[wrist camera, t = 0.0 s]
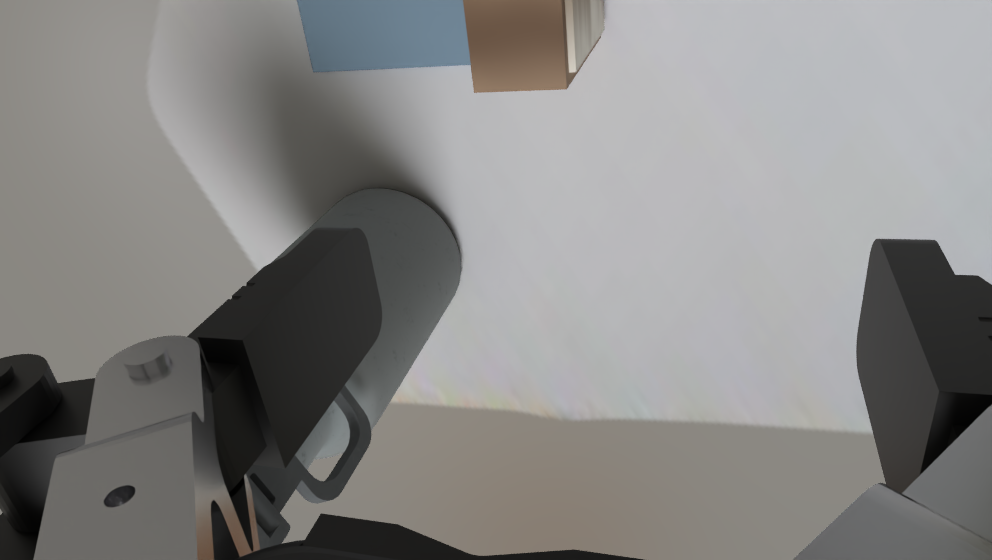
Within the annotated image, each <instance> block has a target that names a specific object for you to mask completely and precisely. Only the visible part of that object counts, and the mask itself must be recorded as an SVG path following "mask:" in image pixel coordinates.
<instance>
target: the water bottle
mask: <svg viewBox="0 0 992 560" xmlns="http://www.w3.org/2000/svg"><path fill="white" fill-rule="evenodd" d="M318 227H339V228H359V229H361V230H362V231H363V232H364V234H365V236H366V238H367V241H368V245H369V249H370V254H371V259H372V263H373V268H374V273H375V277H376V282H377V287H378V291H379V296H380V301H381V306H382V324H381V329H380V333H379V336H378V338H377V340H376V342H375V343H374V344H373V346H372V347H371V349H370V350H369V351H368V353H367V354H366V356H365V357H364V359H363V360H362V361H361V363H360V364H359V366H358V367H357V368H356V370H355V371H354V373H353V374H352V375H351V377H350V378H349V380H348V381H347V382H346V384H345V385H344V387H343V388H342V389H341V391H340V392H339V394H338V395H337V397H336V398H335V399H334V401H333V402H332V404H331V405H330V406H329V408H328V409H327V411H326V412H325V413H324V415H323V416H322V418H321V419H320V420H319V422H318V423H317V425H316V426H315V427H314V429H313V430H312V432H311V433H310V435H309V436H308V437H307V439H306V440H305V442H304V443H303V444H302V446H301V447H300V449H299V450H298V451H297V453H296V454H295V456H294V457H293V458H292V460H291V461H290V463H289V464H288V466H287V467H286V468H285V469H283V468H275V467H267V466H259V465H252V466H251V467H250V469H249V470H248V471H247V473H246V476H247V478H248V481H249V484H250V487H251V490H252V497H253V504H254V511H255V518H256V525H257V532H258V539H259V546H260V549H264V548H267V547H271V546H274V545H278V544H281V543H282V542H283V540H284V538H286V536H287V534H288V532H289V530H290V525H289V524H288V523H287V521H286V520H285V519H284V518H283V517H282V516H281V514H280V512H281V510H282V509H283V507H284V506H285V504H286V503H287V501H288V500H289V498H290V497H291V495H292V494H293V492H294V491H295V489H297V491H298V492H299V493H300V494H301V495H302V496H303V497H304V498H305V499H306V500H307V501H309V502H311V503H322V502H326V501H329V500H333V499H334V498H336V497H338V496H339V494H340V493H341V492H342V490H343V489H344V487H345V485H346V483H347V482H348V480H349V478H350V477H351V475H352V473H353V472H354V470H355V468H356V467H357V465H358V463H359V462H360V460H361V458H362V457H363V455H364V453H365V452H366V450H367V448H368V446H369V444H370V440H371V430H372V429H373V427H374V426H375V425H376V423H377V422H378V420H379V419H380V417H381V415H382V414H383V412H384V411H385V409H386V407H387V406H388V404H389V402H390V401H391V399H392V397H393V396H394V394H395V392H396V391H397V389H398V388H399V386H400V384H401V383H402V381H403V379H404V378H405V376H406V374H407V373H408V371H409V369H410V368H411V366H412V364H413V363H414V361H415V360H416V358H417V356H418V355H419V353H420V351H421V350H422V348H423V346H424V345H425V343H426V341H427V340H428V338H429V336H430V335H431V333H432V332H433V330H434V328H435V327H436V325H437V323H438V322H439V320H440V318H441V317H442V315H443V313H444V312H445V310H446V308H447V307H448V305H449V304H450V302H451V300H452V299H453V297H454V295H455V293H456V291H457V288H458V285H459V282H460V275H461V258H460V253H459V249H458V246H457V243H456V241H455V239H454V237H453V235H452V233H451V231H450V229H449V228H448V226H447V225H446V224H445V222H444V221H443V220H442V218H441V217H440V216H439V215H438V214H437V213H436V212H435V211H434V210H433V209H431V208H430V207H429V206H428V205H426V204H425V203H423V202H422V201H420V200H419V199H417V198H415V197H412V196H410V195H408V194H406V193H403V192H399V191H395V190H391V189H382V188H373V189H365V190H361V191H358V192H355V193H353V194H350V195H348V196H346V197H345V198H343V199H342V200H340V201H339V202H338V203H336V204H335V205H334V206H333V207H332V208H331V209H330V210H329V211H328V212H327V213H326V214H324V215H323V216H322V217H321V218H320V219H319V220H318V221H317V222H316V223H315V224H313V225H312V226H311V227H310V228H309V229H308V230H307V231H306V232H305V233H304V234H302V235H301V236H300V237H299V238H298V239H297V240H296V241H295V242H294V243H293V244H292V245H290V246H289V247H288V248H287V249H286V250H285V251H284V252H283V253H282V254H281V255H279V256H278V257H277V258H276V259H275V260H274V261H276V260H278V259H280V258H282V257H284V256H286V255H287V254H288V253H289V252H290V251H291V250H292V249H293V248H294V247H295V246H297V245H298V244H299V243H300V242H301V241H302V240H303V239H304V238H305V237H306V236H307V235H308V234H310V233H311V232H312V231H313V230H314V229H315V228H318ZM274 261H273V262H274ZM341 453H343V455H342V457H341V458H340V460H339V461H338V463H337V464H336V466H335V467H334V469H333V471H332V472H331V474H330V475H329V477H328V478H327V479H326V480H325V481H324V482H323V481H319V480H317V479H315V478H314V477H313V476H312V475H311V474H310V473H309V472H308V471H307V469H308V468H309V466H310V465H311V463H312V462H313V460H314V459H322V458H327V457H333V456H336V455H339V454H341Z"/></svg>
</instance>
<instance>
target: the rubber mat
mask: <svg viewBox="0 0 992 560" xmlns="http://www.w3.org/2000/svg"><path fill="white" fill-rule="evenodd" d="M297 2H298V6H299V11H300V15H301V20H302V24H303V29H304V33H305V37H306V42H307V46H308V51H309V55H310V60H311V64H312V68H313V72H329V71H350V70H371V69H392V68H413V67H433V66H454V65H471V63H470V54H469V46H468V38H467V30H466V22H465V13H464V5H463V0H297Z"/></svg>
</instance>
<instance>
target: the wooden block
mask: <svg viewBox="0 0 992 560" xmlns="http://www.w3.org/2000/svg"><path fill="white" fill-rule="evenodd" d="M463 5H464V13H465V22H466V30H467V38H468V46H469V54H470V63H471V71H472V79H473V87H474V93H477V92H504V91H531V90H558V89H567V88H568V86H569V85H570V83H571V82H572V80H573V79H574V77H575V76H576V74H577V73H578V71H579V70H580V68H581V67H582V65H583V64H584V62H585V61H586V59H587V57H588V56H589V54H590V53H591V51H592V50H593V48H594V47H595V45H596V44H597V42H598V41H599V39H600V38H601V34H602V33H603V31H604V1H603V0H463Z"/></svg>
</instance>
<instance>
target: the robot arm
mask: <svg viewBox="0 0 992 560" xmlns="http://www.w3.org/2000/svg"><path fill="white" fill-rule="evenodd" d="M381 324H382V306H381V301H380V296H379V291H378V287H377V282H376V277H375V273H374V268H373V263H372V259H371V254H370V249H369V245H368V241H367V238H366V236H365V234H364V232H363V231H362V230H361V229H359V228H339V227H318V228H315V229H314V230H313V231H312V232H311V233H310V234H308V235H307V236H306V237H305V238H304V239H303V240H302V241H301V242H300V243H299V244H298V245H297V246H295V247H294V248H293V249H292V250H291V251H290V252H289V253H288V254H287V255H286V256H284V257H282V258H280V259H278V260H276V261H274V262H272V263H270V264H269V265H267V266H265V267H263V268H262V269H261V270H260V271H259V272H258V273H257V274H256V275H255V276H253V277H252V278H251V279H250V280H249V281H248V282H247V285H246V286H242V287H241V289H239V290H238V291H237V292H236V293H235V294H234V295H233V296H232V299H231V300H230V299H228V300H227V301H226V302H225V303H224V304H223V305H221V306H220V307H219V308H218V309H217V310H216V311H215V312H214V313H213V314H212V315H210V316H209V317H208V318H207V319H206V320H205V321H204V322H203V323H202V324H200V325H199V326H198V327H197V328H196V329H195V330H194V331H193V332H192V333H191V334H189V336H187V337H185V336H163V337H157V338H153V339H149V340H146V341H143V342H140V343H137V344H135V345H132V346H130V347H128V348H126V349H124V350H122V351H121V352H119V353H117V354H116V355H114V356H113V357H111V358H110V359H109V360H108V361H107V362H105V363H104V364H103V366H102V367H101V368H100V369H99V371H98V373H97V375H96V378H93V379H85V380H78V381H71V382H63V383H57V381H56V379H55V377H54V375H53V373H52V371H51V369H50V367H49V365H48V363H47V361H46V360H45V359H44V358H43V357H41V356H38V355H33V354H21V355H13V356H9V357H4V358H1V359H0V509H1V510H2V512H3V513H2V514H1V515H0V560H643V559H636V558H629V557H622V556H615V555H608V554H601V553H594V552H587V551H580V550H564V551H548V552H534V553H520V554H507V555H492V556H477V555H471V554H468V553H465V552H463V551H461V550H458V549H456V548H454V547H451V546H449V545H446V544H444V543H441V542H439V541H437V540H434V539H432V538H429V537H427V536H424V535H422V534H420V533H417V532H415V531H412V530H410V529H407V528H405V527H403V526H400V525H398V524H391V523H384V522H376V521H369V520H363V519H355V518H348V517H341V516H334V515H327V514H320V516H319V518H318V519H317V521H316V523H315V524H314V526H313V528H312V529H311V531H310V533H309V534H308V536H307V537H306V539H305V540H302V541H294V542H289V543H283V544H278V545H274V546H271V547H267V548H264V549H260V546H259V539H258V532H257V525H256V518H255V511H254V504H253V497H252V490H251V487H250V484H249V481H248V478H247V476H246V473H247V471H248V470H249V469H250V467H251V466H252V465H259V466H267V467H275V468H283V469H285V468H286V467H287V466H288V464H289V463H290V461H291V460H292V458H293V457H294V456H295V454H296V453H297V451H298V450H299V449H300V447H301V446H302V444H303V443H304V442H305V440H306V439H307V437H308V436H309V435H310V433H311V432H312V430H313V429H314V427H315V426H316V425H317V423H318V422H319V420H320V419H321V418H322V416H323V415H324V413H325V412H326V411H327V409H328V408H329V406H330V405H331V404H332V402H333V401H334V399H335V398H336V397H337V395H338V394H339V392H340V391H341V389H342V388H343V387H344V385H345V384H346V382H347V381H348V380H349V378H350V377H351V375H352V374H353V373H354V371H355V370H356V368H357V367H358V366H359V364H360V363H361V361H362V360H363V359H364V357H365V356H366V354H367V353H368V351H369V350H370V349H371V347H372V346H373V344H374V343H375V342H376V340H377V338H378V336H379V333H380V329H381ZM856 352H857V369H858V374H859V379H860V383H861V387H862V391H863V394H864V398H865V402H866V406H867V410H868V414H869V418H870V422H871V426H872V430H873V434H874V438H875V442H876V446H877V450H878V454H879V457H880V462H881V466H882V470H883V474H884V477H885V481H886V484H883V483H878V484H875V485H873V486H872V487H870V488H868V489H867V490H866V491H865V492H864V493H863V494H861V496H859V497H858V498H857V499H856V500H855V501H854V502H853V503H852V504H851V505H850V506H849V507H848V508H847V509H846V510H845V511H844V512H842V513H841V515H839V516H838V517H837V518H836V519H835V520H834V521H833V522H832V523H831V524H830V525H829V526H828V527H827V528H826V529H825V530H824V531H822V532H821V533H820V534H819V535H818V536H817V537H816V538H815V539H814V540H813V541H812V542H811V543H810V544H809V545H808V546H807V547H806V548H805V549H803V550H802V551H801V552H800V553H799V554H798V555H797V556H796V557H795V558H794V559H793V560H992V285H991V284H989V283H988V282H987V281H985V280H984V279H982V278H981V277H979V276H973V275H955V274H954V272H953V270H952V268H951V267H950V265H949V263H948V261H947V259H946V257H945V255H944V254H943V252H942V250H941V248H940V246H939V244H938V243H937V241H935V240H911V239H876V240H875V241H874V243H873V245H872V248H871V252H870V257H869V263H868V270H867V276H866V282H865V289H864V295H863V301H862V308H861V314H860V320H859V327H858V334H857V351H856Z"/></svg>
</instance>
